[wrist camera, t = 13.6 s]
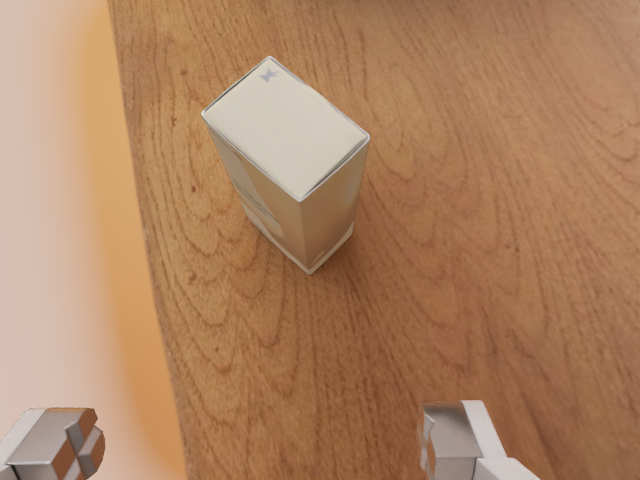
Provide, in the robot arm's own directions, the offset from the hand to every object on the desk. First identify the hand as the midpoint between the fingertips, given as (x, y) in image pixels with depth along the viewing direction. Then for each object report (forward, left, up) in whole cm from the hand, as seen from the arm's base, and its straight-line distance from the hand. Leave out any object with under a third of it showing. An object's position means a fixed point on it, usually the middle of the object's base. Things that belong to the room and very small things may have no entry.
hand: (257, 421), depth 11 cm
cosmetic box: (-2, +11, -16) cm, 19 cm away
